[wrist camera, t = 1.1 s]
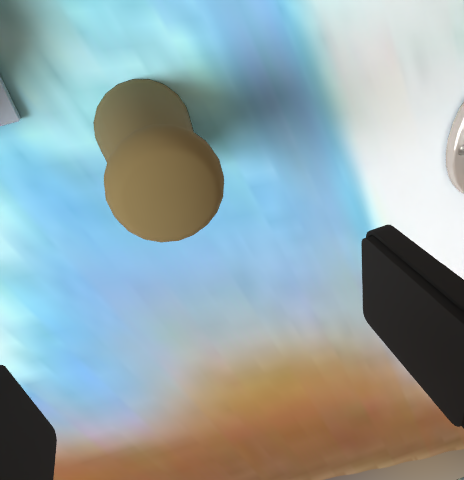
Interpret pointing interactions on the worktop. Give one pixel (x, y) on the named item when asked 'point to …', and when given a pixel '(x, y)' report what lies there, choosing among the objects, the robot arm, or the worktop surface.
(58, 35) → the worktop surface
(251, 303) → the worktop surface
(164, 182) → the cork
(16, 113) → the grey octagonal holder
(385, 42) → the worktop surface
